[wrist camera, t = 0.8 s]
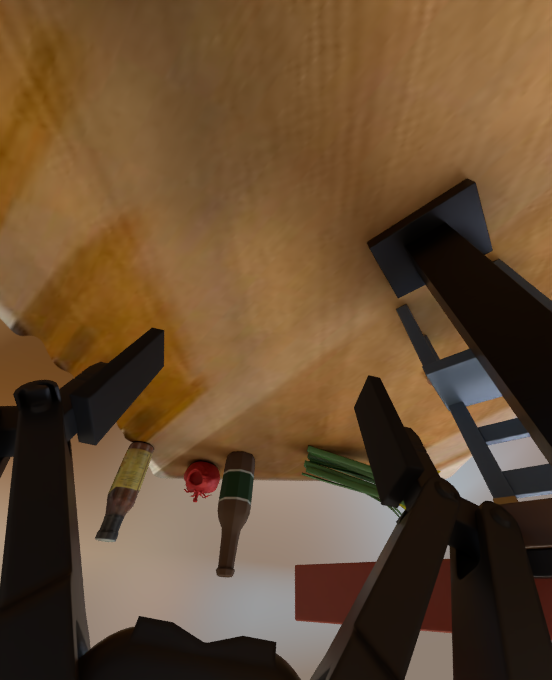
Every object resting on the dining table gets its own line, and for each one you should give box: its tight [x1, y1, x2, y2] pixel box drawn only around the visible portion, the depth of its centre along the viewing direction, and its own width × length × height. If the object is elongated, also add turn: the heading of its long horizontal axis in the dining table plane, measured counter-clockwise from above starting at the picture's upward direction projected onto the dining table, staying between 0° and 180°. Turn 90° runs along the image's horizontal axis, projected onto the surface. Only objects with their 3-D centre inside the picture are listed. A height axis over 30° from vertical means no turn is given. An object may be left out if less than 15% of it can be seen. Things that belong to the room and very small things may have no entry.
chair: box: [396, 259, 552, 504], centre depth 26 cm, size 12×11×25 cm
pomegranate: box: [184, 461, 220, 502], centre depth 72 cm, size 10×10×9 cm
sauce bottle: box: [95, 442, 154, 542], centre depth 61 cm, size 7×6×20 cm
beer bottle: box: [216, 452, 255, 577], centre depth 62 cm, size 8×8×24 cm
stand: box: [367, 179, 552, 579], centre depth 19 cm, size 14×8×27 cm, turn 129°
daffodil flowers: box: [302, 446, 441, 517], centre depth 60 cm, size 17×15×35 cm
